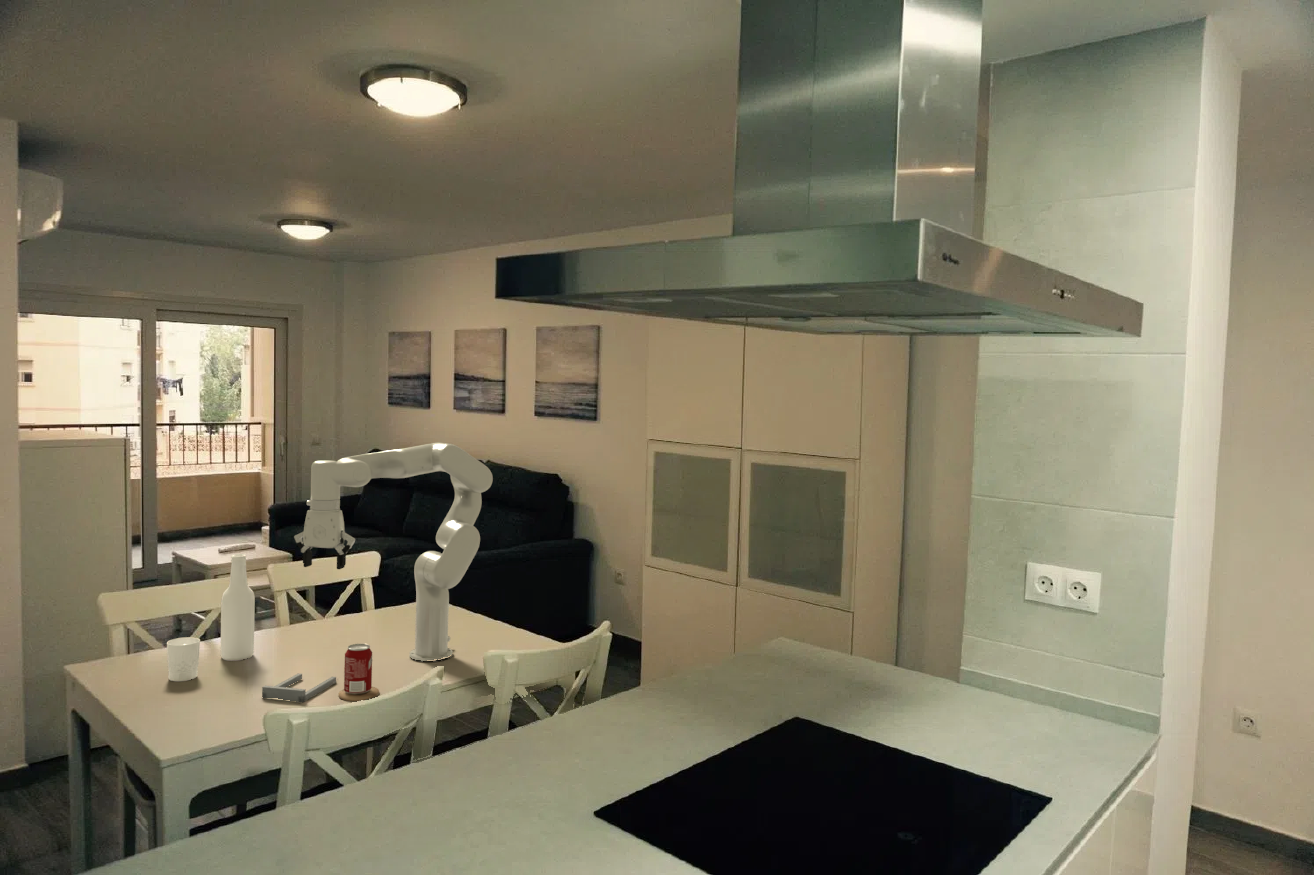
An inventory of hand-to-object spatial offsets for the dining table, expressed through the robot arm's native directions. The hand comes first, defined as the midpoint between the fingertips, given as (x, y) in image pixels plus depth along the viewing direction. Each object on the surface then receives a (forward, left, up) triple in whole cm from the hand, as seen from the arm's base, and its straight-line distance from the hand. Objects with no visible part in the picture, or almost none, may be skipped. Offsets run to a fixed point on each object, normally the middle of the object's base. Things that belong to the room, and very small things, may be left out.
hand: (324, 567), depth 237 cm
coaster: (+11, +17, -30) cm, 37 cm away
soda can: (+11, +17, -30) cm, 36 cm away
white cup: (+11, -34, -30) cm, 47 cm away
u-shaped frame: (+12, +1, -30) cm, 33 cm away
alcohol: (-9, -32, -30) cm, 45 cm away
